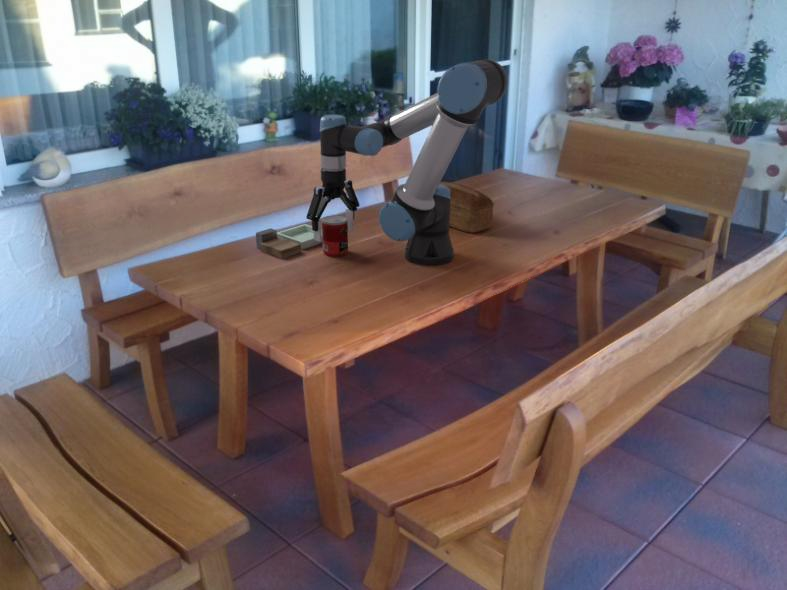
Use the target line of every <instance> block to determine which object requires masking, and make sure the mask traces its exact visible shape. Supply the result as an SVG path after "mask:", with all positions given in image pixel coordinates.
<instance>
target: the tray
mask: <svg viewBox="0 0 787 590" xmlns="http://www.w3.org/2000/svg"><path fill="white" fill-rule="evenodd" d="M321 231H322V228H321ZM279 237H281V238H284V239H286V240H289V241H292V242H295V243H298V244H301V251H303V250H305V249H308V248H311V247H315V246H318V245H321V244H323V240H322V241H321V242H319V241H316V240H314V231H313V230H312V225H311V224H310V225H309V224H307V223H304V224H300V225H298V226H294V227H291V228H287V229H284V230H281V231H277V238H279Z"/></svg>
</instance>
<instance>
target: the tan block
mask: <svg viewBox="0 0 787 590" xmlns="http://www.w3.org/2000/svg"><path fill="white" fill-rule="evenodd" d="M259 250H260V252H261V253H264V254H267V255H269V256H273V257H276V258H278V259H281V260H282V259H285V258H288V257H291V256H294V255H297V254H299V253H302V250H301V244H298V243H295V242H292V241H289V240H286V239H284V238H281V237H279V238H276V239H272V240H269V241H266V242H263V243H260V249H259Z"/></svg>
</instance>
